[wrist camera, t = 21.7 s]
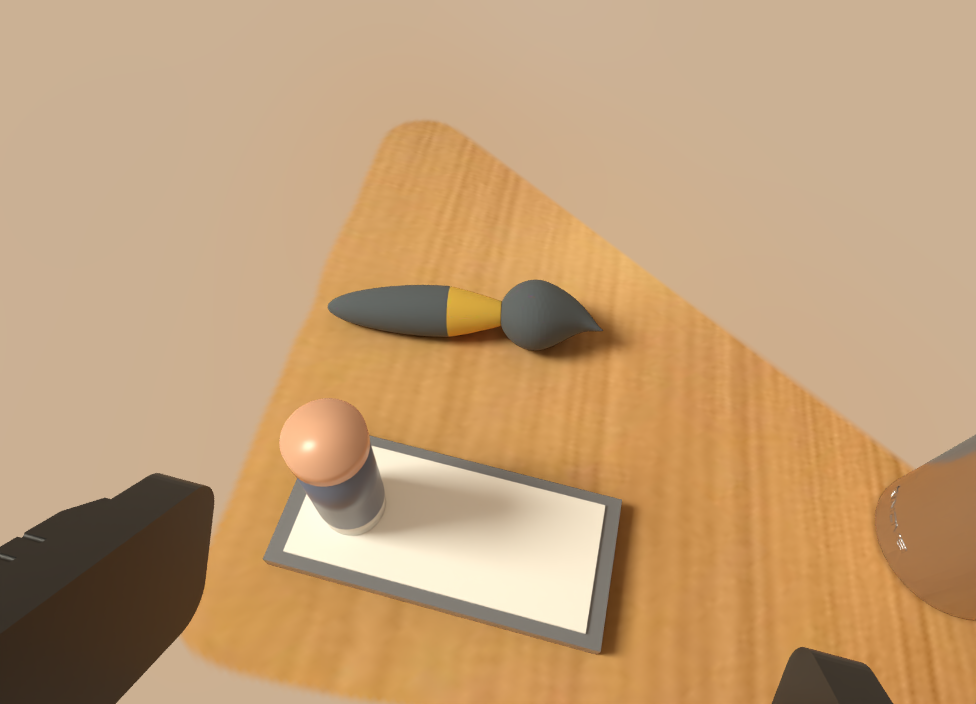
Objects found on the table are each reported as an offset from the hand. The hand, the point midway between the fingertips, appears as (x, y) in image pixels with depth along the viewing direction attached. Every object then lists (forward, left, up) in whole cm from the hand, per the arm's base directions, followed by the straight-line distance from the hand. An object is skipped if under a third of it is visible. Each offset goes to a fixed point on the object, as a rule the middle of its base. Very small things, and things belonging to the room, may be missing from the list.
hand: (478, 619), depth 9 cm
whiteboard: (+3, -9, -31) cm, 32 cm away
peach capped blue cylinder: (+9, -9, -29) cm, 32 cm away
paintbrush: (+6, -24, -31) cm, 40 cm away
